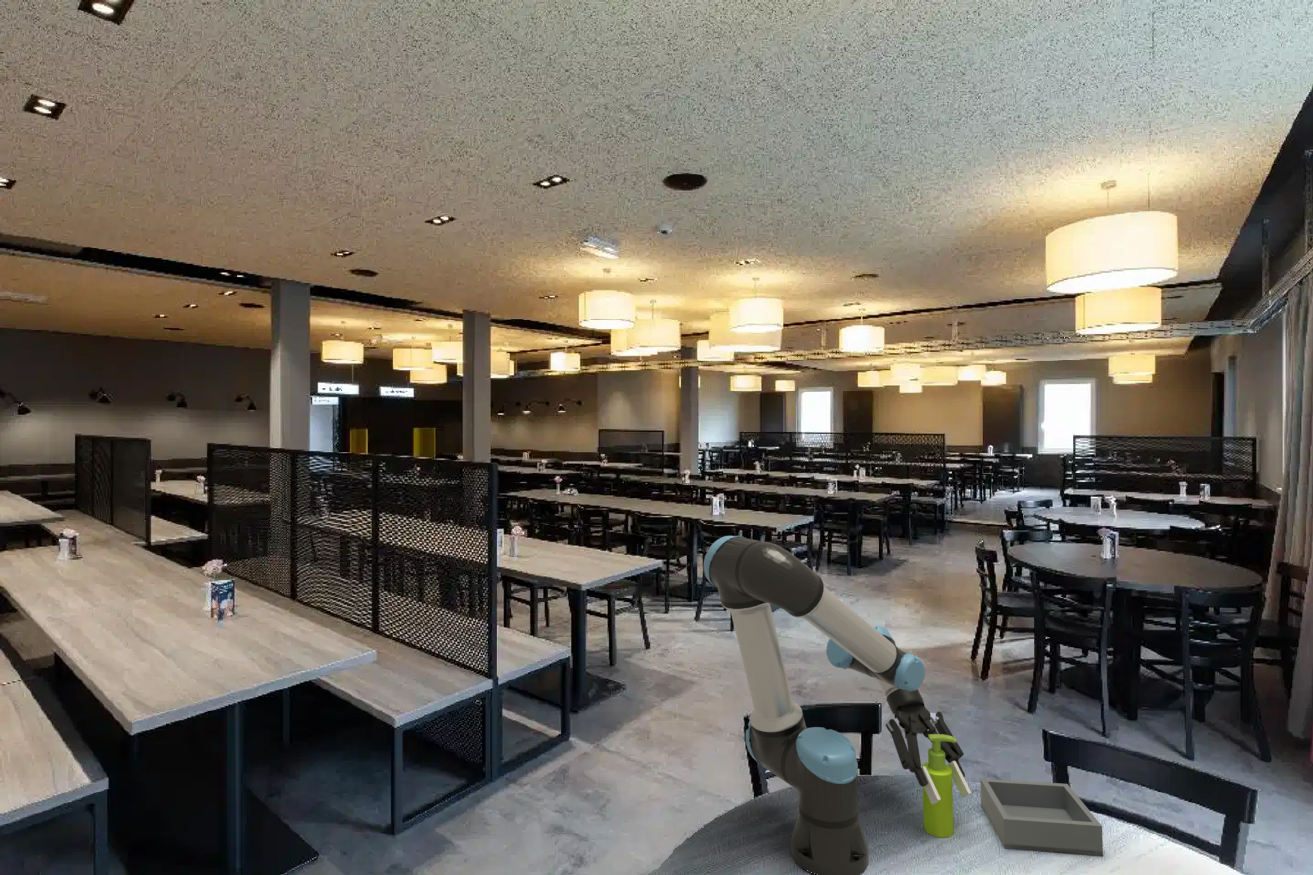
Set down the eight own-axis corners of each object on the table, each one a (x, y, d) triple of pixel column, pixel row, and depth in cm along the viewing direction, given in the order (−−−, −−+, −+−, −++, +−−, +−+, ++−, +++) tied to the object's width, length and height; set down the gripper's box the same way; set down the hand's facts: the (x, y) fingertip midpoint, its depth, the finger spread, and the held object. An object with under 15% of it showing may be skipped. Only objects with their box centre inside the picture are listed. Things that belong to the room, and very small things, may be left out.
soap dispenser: (962, 839, 137) (959, 743, 137) (926, 836, 139) (924, 741, 139) (955, 823, 143) (952, 730, 143) (921, 820, 144) (918, 728, 144)
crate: (1004, 848, 134) (1003, 818, 134) (981, 804, 150) (980, 778, 150) (1102, 856, 131) (1102, 825, 131) (1068, 810, 146) (1067, 783, 146)
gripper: (929, 693, 158) (982, 796, 143) (857, 704, 153) (903, 812, 137) (944, 679, 153) (1000, 784, 138) (869, 690, 148) (918, 800, 132)
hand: (951, 798), depth 138 cm, fingers open, 7 cm apart
